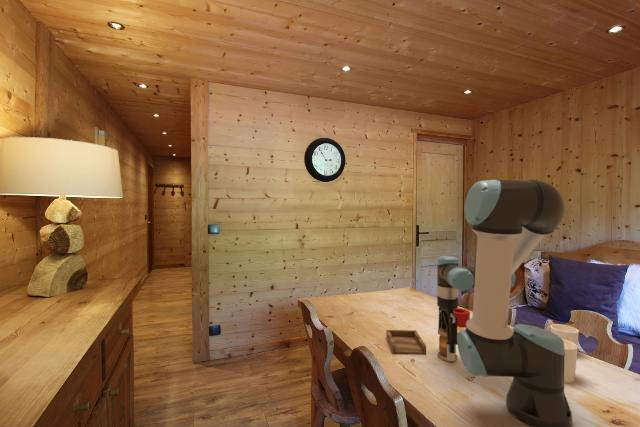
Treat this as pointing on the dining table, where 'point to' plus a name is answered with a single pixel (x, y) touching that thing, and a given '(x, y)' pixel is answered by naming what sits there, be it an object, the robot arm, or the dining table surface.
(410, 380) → the dining table surface
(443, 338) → the bobbin
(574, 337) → the mug
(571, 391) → the dining table surface
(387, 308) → the dining table surface
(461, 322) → the red watering can
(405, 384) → the dining table surface
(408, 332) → the wooden tray
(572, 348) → the candle holder
